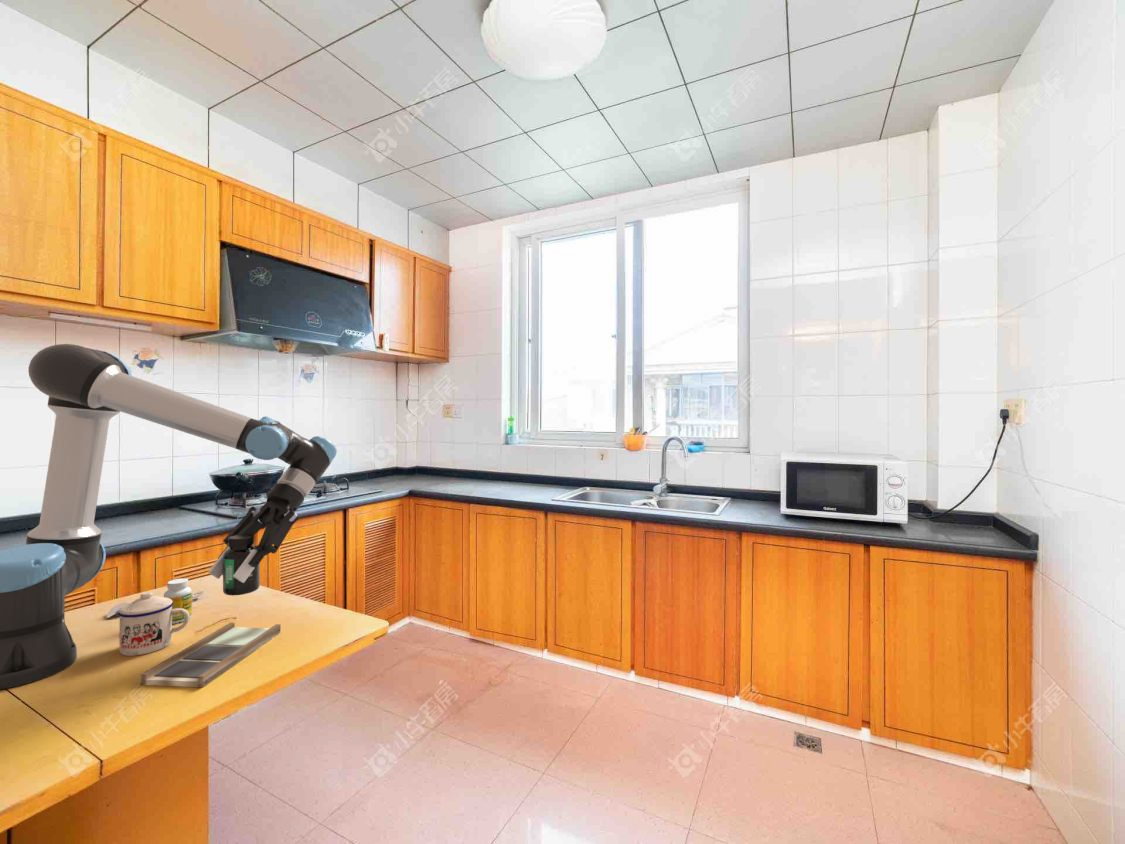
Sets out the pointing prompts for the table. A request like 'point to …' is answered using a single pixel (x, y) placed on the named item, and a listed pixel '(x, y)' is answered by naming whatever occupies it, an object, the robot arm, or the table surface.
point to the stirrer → (117, 607)
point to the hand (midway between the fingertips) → (225, 577)
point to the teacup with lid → (147, 624)
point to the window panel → (209, 656)
